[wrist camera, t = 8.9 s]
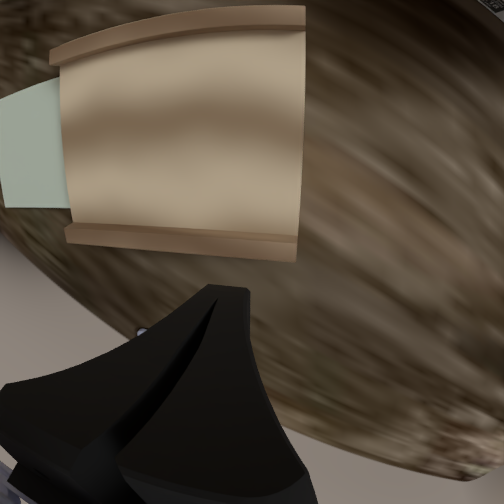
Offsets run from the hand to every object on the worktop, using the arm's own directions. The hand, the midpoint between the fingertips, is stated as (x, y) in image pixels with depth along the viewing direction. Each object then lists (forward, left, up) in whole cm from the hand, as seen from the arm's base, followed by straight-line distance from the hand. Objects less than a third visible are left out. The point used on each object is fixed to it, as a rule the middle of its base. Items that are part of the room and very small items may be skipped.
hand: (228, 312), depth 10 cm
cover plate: (+5, +17, -10) cm, 21 cm away
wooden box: (+5, +5, -9) cm, 12 cm away
